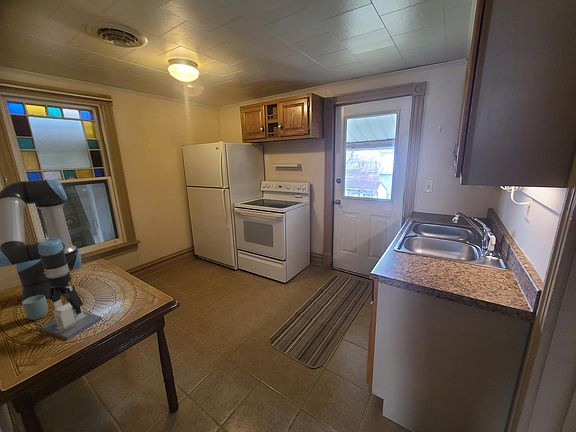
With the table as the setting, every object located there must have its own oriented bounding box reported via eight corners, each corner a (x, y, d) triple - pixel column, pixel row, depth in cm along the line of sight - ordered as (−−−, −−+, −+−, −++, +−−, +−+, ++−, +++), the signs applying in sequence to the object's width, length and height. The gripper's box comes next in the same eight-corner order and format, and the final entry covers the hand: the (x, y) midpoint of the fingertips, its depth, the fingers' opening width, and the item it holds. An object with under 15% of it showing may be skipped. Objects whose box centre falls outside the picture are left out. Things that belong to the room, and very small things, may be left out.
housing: (57, 325, 109) (52, 310, 107) (77, 314, 117) (73, 300, 115) (64, 328, 108) (59, 312, 106) (84, 317, 115) (80, 302, 113)
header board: (40, 329, 110) (36, 318, 108) (75, 311, 122) (72, 300, 121) (67, 339, 103) (64, 327, 101) (102, 319, 116) (99, 308, 114)
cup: (53, 313, 121) (48, 296, 118) (33, 323, 114) (27, 305, 111) (44, 310, 123) (38, 293, 121) (23, 320, 116) (17, 302, 114)
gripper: (30, 274, 107) (43, 315, 112) (65, 283, 99) (77, 327, 104) (51, 267, 114) (62, 306, 119) (86, 275, 106) (96, 316, 111)
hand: (69, 316), depth 112 cm, fingers open, 13 cm apart
